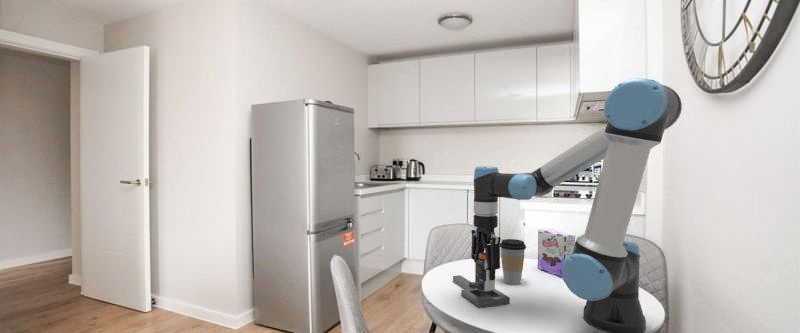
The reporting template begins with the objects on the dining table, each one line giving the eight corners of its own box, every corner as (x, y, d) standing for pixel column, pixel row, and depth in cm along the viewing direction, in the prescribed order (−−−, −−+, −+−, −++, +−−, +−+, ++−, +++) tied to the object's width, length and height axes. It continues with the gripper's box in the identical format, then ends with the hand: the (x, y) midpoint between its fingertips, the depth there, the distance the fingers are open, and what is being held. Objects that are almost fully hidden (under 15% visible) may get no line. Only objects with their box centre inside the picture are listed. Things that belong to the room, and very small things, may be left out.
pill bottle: (494, 292, 118) (495, 256, 118) (475, 291, 120) (475, 255, 119) (493, 286, 124) (494, 251, 124) (475, 284, 125) (475, 251, 125)
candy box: (536, 269, 156) (537, 229, 155) (547, 267, 158) (548, 228, 158) (564, 278, 143) (564, 235, 143) (575, 276, 146) (576, 234, 145)
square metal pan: (509, 303, 118) (509, 294, 118) (478, 308, 115) (478, 299, 115) (469, 279, 142) (469, 272, 142) (443, 282, 139) (443, 274, 138)
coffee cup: (496, 283, 137) (496, 242, 137) (502, 276, 146) (502, 237, 145) (523, 287, 133) (523, 245, 133) (528, 280, 141) (528, 240, 141)
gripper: (513, 218, 113) (512, 295, 114) (480, 209, 131) (479, 276, 132) (491, 219, 111) (490, 297, 112) (460, 210, 129) (460, 278, 130)
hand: (484, 285), depth 122 cm, fingers closed on pill bottle, 6 cm apart
